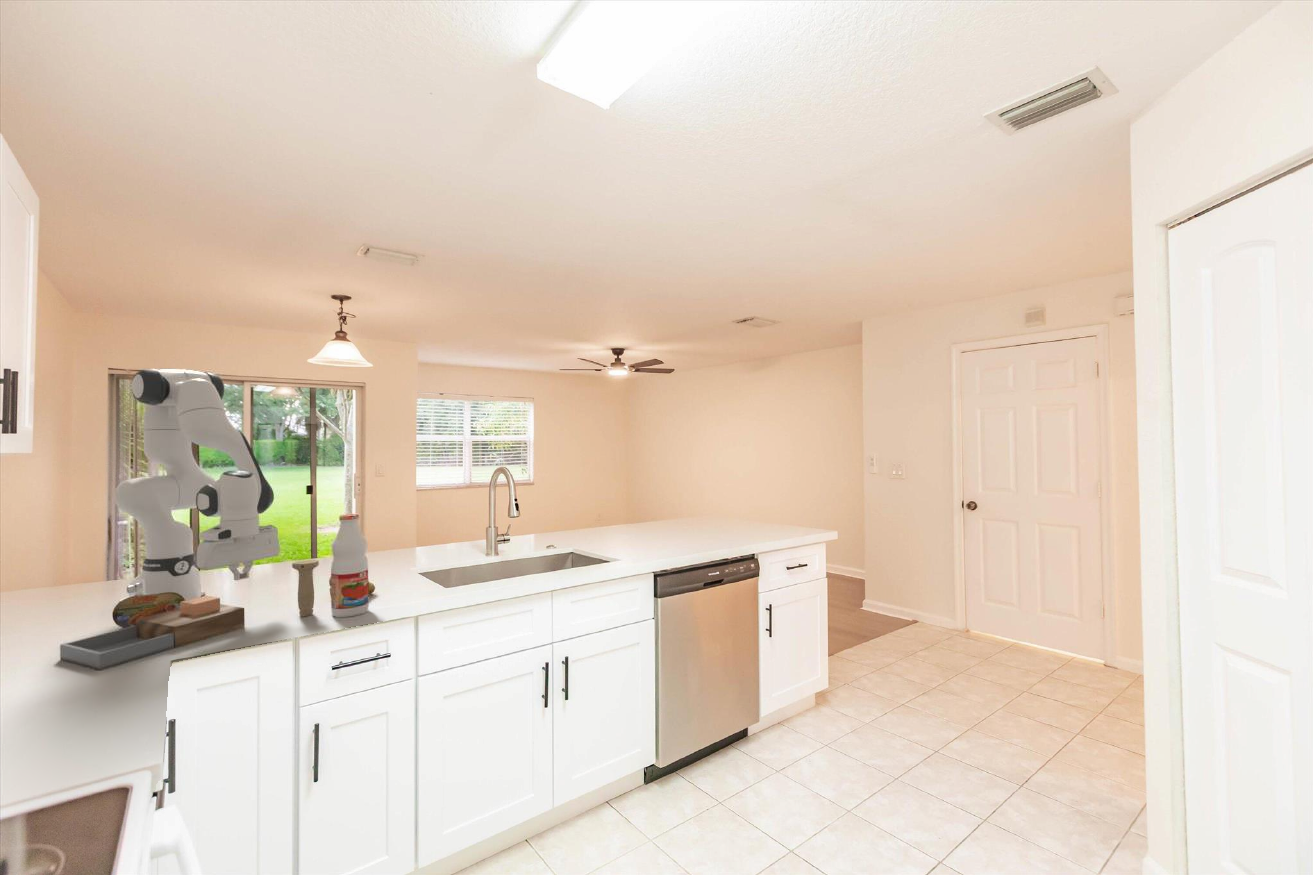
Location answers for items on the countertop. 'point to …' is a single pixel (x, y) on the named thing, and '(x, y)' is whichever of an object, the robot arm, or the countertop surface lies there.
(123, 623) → the tin
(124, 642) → the box
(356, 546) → the fruit juice
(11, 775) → the countertop surface
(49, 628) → the countertop surface
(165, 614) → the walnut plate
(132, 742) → the countertop surface
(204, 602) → the terracotta block
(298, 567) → the handle
